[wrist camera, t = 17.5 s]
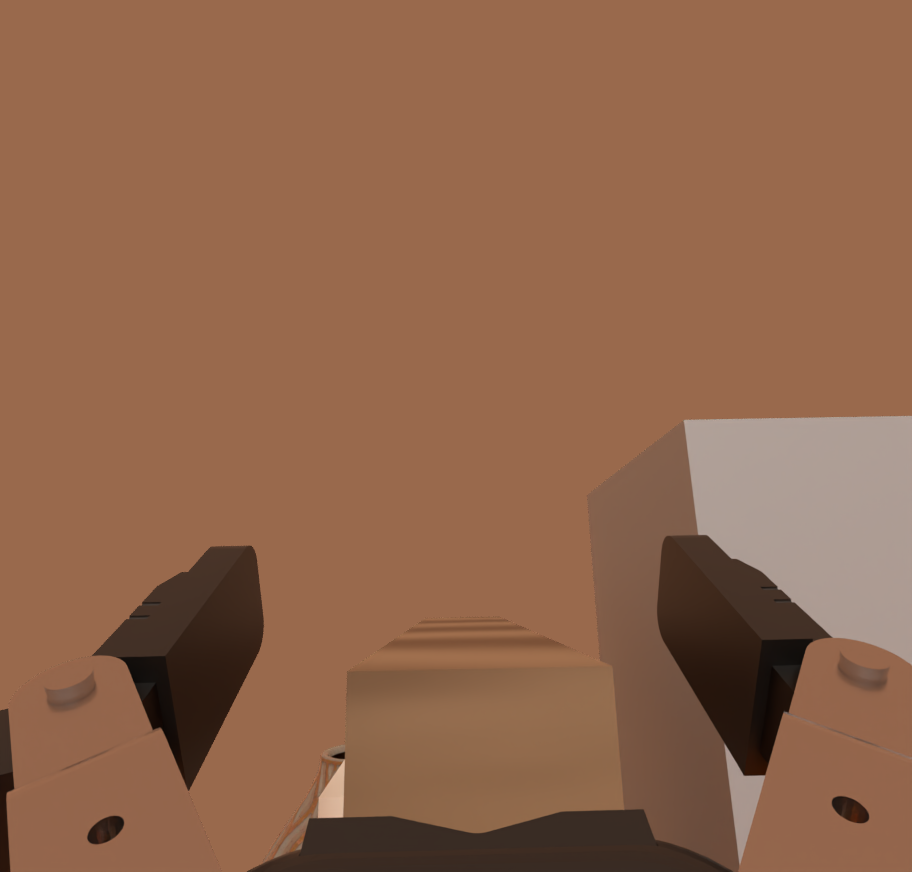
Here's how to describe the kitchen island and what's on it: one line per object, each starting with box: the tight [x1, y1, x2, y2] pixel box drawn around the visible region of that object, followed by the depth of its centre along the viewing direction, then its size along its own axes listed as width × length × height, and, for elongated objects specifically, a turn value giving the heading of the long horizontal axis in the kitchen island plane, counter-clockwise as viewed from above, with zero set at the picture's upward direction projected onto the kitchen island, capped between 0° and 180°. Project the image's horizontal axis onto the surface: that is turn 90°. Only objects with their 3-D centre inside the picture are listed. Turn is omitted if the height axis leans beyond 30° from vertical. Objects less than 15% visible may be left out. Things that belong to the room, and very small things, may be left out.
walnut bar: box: [343, 617, 624, 833], centre depth 20 cm, size 24×4×4 cm, turn 0°
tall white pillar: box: [587, 416, 912, 872], centre depth 25 cm, size 16×12×32 cm
